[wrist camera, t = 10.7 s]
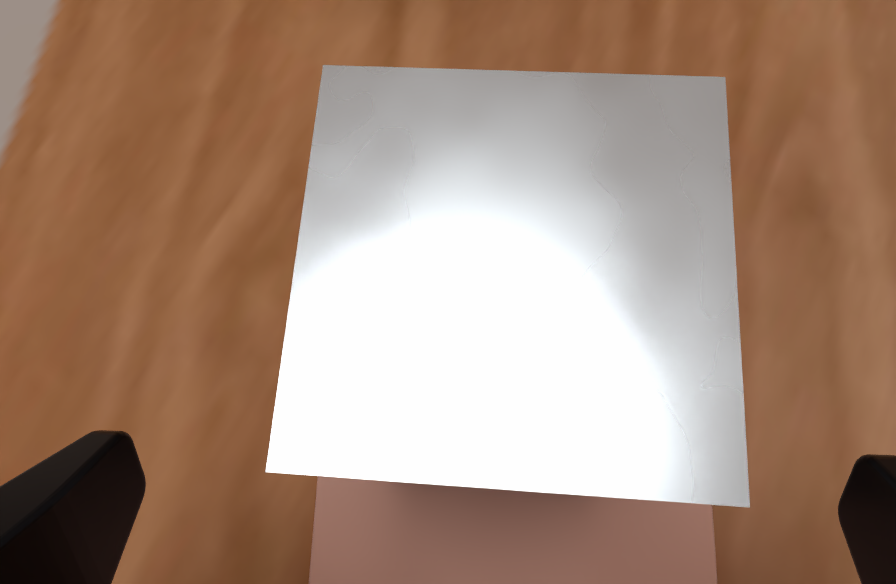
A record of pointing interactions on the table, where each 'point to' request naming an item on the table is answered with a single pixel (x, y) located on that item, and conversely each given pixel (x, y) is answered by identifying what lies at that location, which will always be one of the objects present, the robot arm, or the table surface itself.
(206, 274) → the table surface
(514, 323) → the tin
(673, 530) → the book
